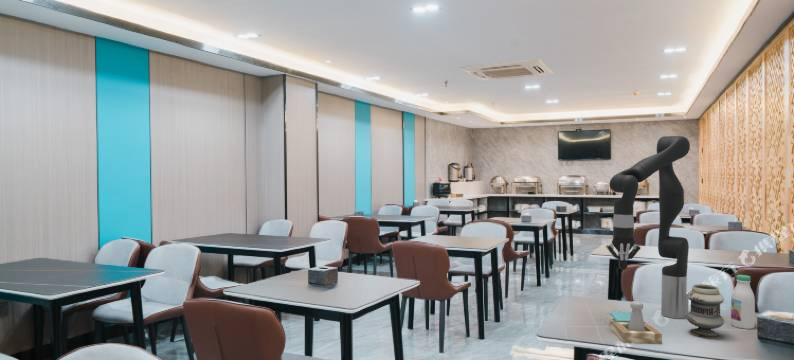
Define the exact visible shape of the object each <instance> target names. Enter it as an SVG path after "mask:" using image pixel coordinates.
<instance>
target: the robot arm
mask: <svg viewBox="0 0 794 360" xmlns="http://www.w3.org/2000/svg"><path fill="white" fill-rule="evenodd" d="M690 149H691V144H690V141H689V139H688V138H687V137H685V136H682V135H667V136H666V135H665V136H661V137H660V138H659V139H658V140H657V143H656V153H655V154H653V155H650V156H648V157H645V158H643V159H641V160H639V161H638V162H636V163H635V164H634V165H632V166H630V167H629V168H627V169H624V170H622V171H620V172H618V173H616V174H614V175H613V176H612V177H611V179H610V180H609V187H610V190H611V191H613V192H614V193H619V194H620V193H621V194H622V196H621V198H617V199H615V200H614V202H613V217H612V240H611V243H609V244H608V245H606V246H605V247H606V249H607V250H608V252H609V253H610V255H612V257H614V258H615V259H617V260H618V267H619V269H620V270H623V271H626V269H627V268H628V260H633V258H634V257H636V255H637V253H638V252H639V251H640V250H641V246H640V245H637V244H636V242H635V239H634V238H635V217H634V203H635V201H636V197H637V193H638V190H639V183H641V182H644V181H645V180H646V179H648V178H649V177H651V176H652V175H653V174H655V173H657V172H658V180H659V181H658V183H659V184H658V186H659V189H658V204H659V205H658V206H659V225H658V226H659V227H658V239H657V240H658V242H657V249H658V250H657V252H658V254H659V256H660V257H661V258H664V259H672V260H676V262H675V263H674V264H669V265H665V266H663V267H662V268H661V308H660V314H661V316H664V317H666V318H670V319H687V314H688V313H689V298H688V296H687V294H688V293H687V285H688V284H687V281H688V279H687V278H688V277H687V276H688V265H689V264H688V260H689V247H690V246H689V241H688V238H686V237H681V236H671V235H670V230H671V226H672V225H673V223H674V222H675V220H676V219H677V218H678V216H679V215H680V214H681V212H682V210H683V209H684V205H685V190H684V187H683V185H682V182H680V180H679V178H678V176H677V175H676V172H675V170H674V166H673V163H674V162H676V161H678V160H680V159H683V158H685V157H686V156H687V155H688V154H689V151H690ZM614 249H615V250H616V251H617V252H616V251H615V250H614ZM631 249H632V250H631Z"/></svg>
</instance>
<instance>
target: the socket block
mask: <svg viewBox="0 0 794 360" xmlns="http://www.w3.org/2000/svg"><path fill="white" fill-rule="evenodd" d="M609 325H610V326H611V331H612V333H613V334H614V335H616V336H617V337H618V339H620V341H622V343H626V344H627V343H628V344H656V345H657V344H659V345H662V344H663V333H661V331H659V330H658V329H656V328H655V327H654V326H652V325H651V324H650V323H649V322H646V321H644V327H645V331H629V330H628V326H629V322H616V321H615V319H614V318H609Z"/></svg>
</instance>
